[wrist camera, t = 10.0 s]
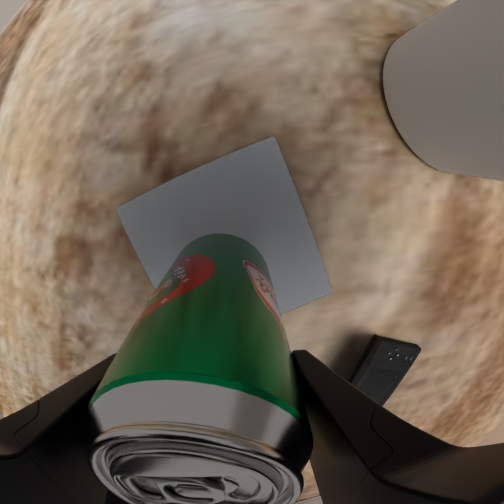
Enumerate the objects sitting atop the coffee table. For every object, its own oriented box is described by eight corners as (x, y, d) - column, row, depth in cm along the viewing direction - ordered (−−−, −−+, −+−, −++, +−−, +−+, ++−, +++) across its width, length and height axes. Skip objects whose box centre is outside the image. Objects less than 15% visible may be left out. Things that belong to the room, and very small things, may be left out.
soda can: (270, 315, 16) (312, 522, 5) (182, 321, 16) (124, 518, 5) (266, 227, 15) (341, 406, 3) (168, 234, 15) (24, 397, 3)
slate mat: (189, 342, 23) (188, 346, 22) (118, 207, 20) (115, 208, 19) (330, 289, 22) (332, 292, 21) (273, 136, 19) (274, 135, 18)
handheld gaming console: (385, 427, 26) (362, 484, 17) (330, 407, 30) (291, 455, 21) (425, 336, 24) (422, 376, 16) (360, 317, 28) (329, 347, 20)
